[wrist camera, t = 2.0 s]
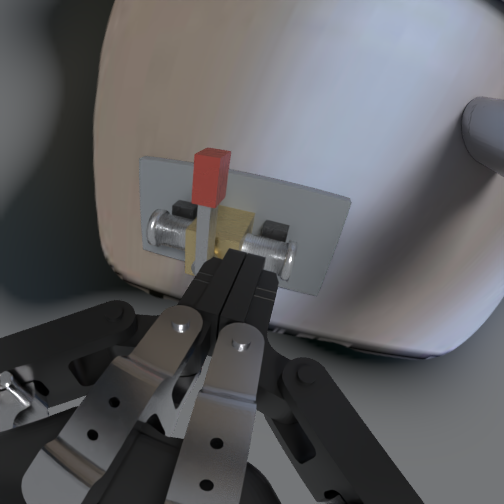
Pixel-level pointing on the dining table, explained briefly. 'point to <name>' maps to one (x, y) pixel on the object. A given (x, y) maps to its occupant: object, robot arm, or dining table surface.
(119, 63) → the dining table surface
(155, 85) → the dining table surface
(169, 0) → the dining table surface
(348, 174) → the dining table surface
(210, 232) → the lever
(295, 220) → the slate board
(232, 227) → the valve pipe
